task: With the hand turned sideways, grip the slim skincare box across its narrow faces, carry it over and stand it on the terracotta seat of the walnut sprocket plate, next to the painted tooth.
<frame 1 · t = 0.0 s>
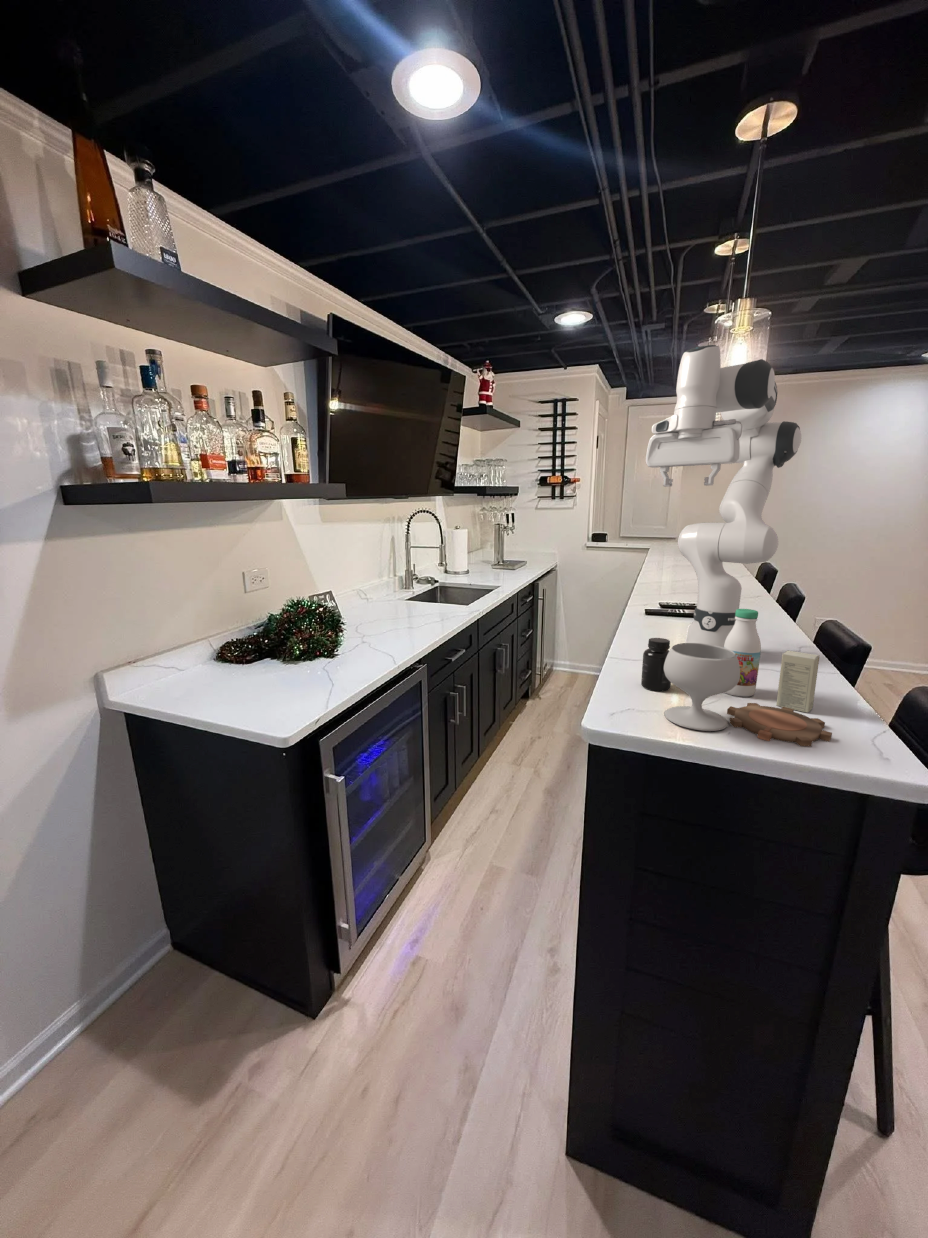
hand: (687, 485, 117), 48 cm above the table, tool pointing down, fingers open, 8 cm apart
supplement bottle: (655, 687, 122), on the table
milk bottle: (736, 692, 119), on the table
skincare box: (793, 707, 110), on the table
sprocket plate: (776, 725, 100), on the table
chalice: (695, 720, 103), on the table
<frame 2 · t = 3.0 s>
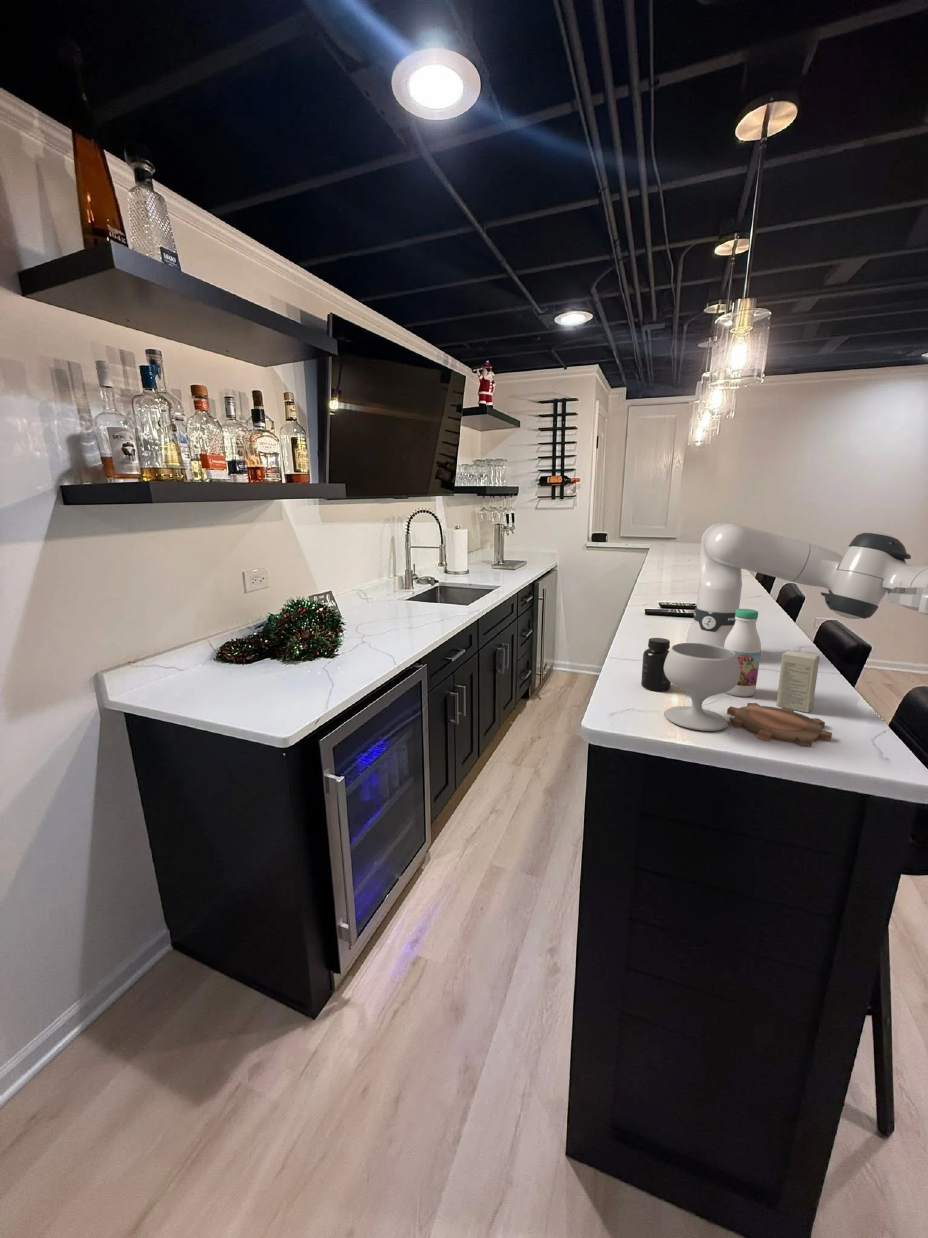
hand: (890, 594, 96), 27 cm above the table, tool horizontal, fingers open, 8 cm apart
nothing on the table moved.
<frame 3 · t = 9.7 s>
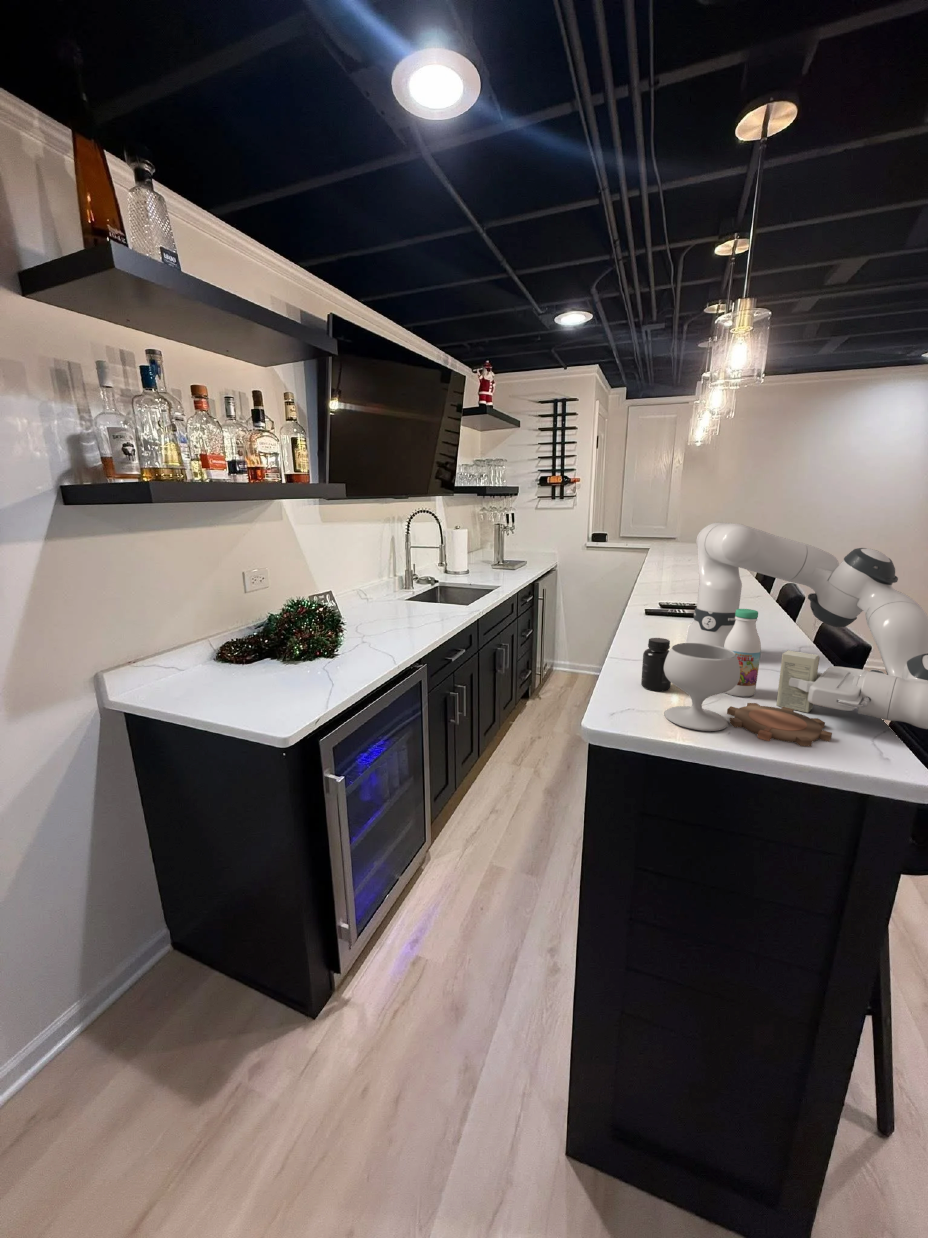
hand: (793, 677, 109), 7 cm above the table, tool horizontal, fingers closed on skincare box, 4 cm apart
skincare box: (793, 707, 110), on the table, touching gripper
everything else where it was.
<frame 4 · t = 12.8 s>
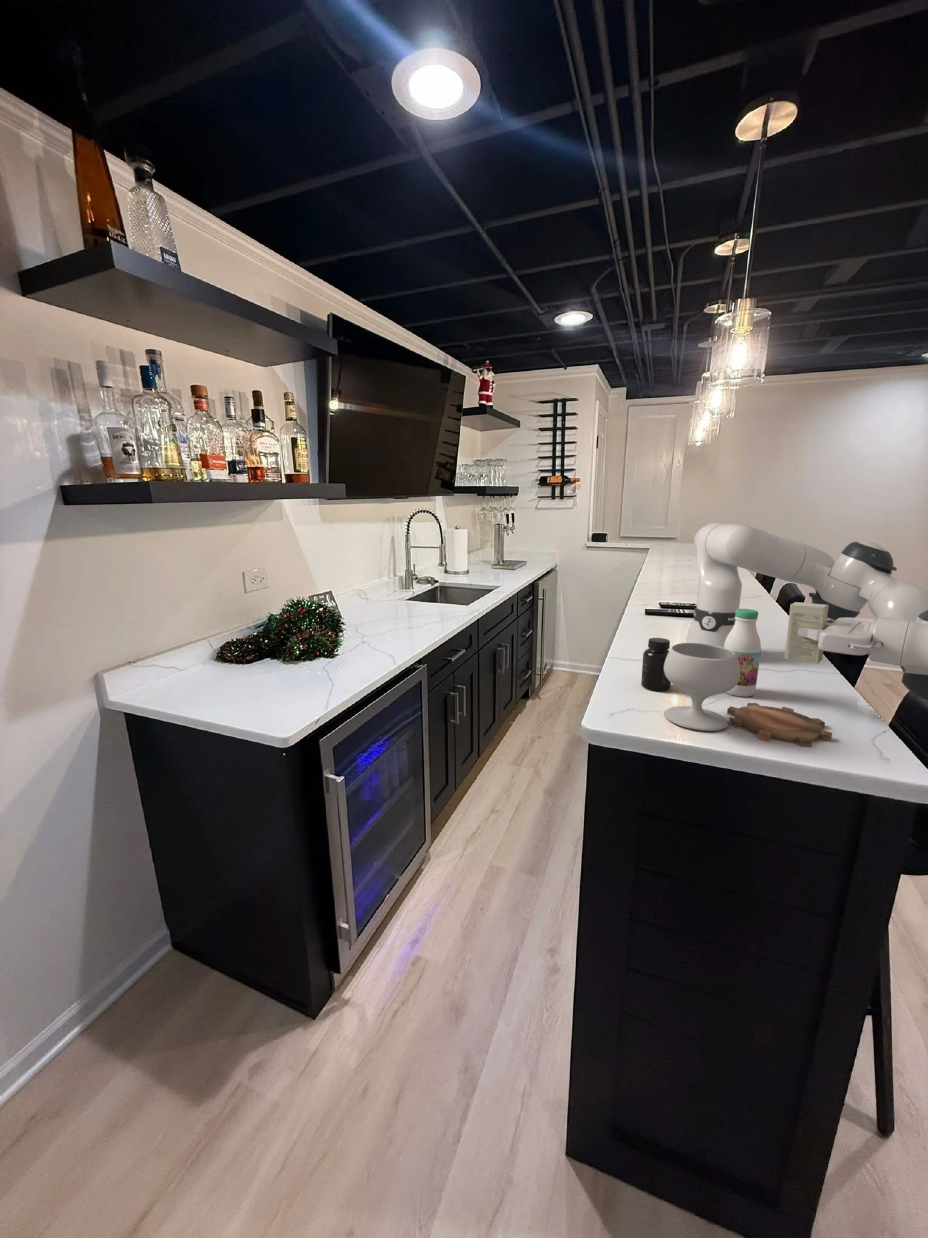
hand: (801, 628, 106), 18 cm above the table, tool horizontal, fingers closed on skincare box, 4 cm apart
skincare box: (802, 660, 107), point 11 cm above the table, touching gripper
everything else where it was.
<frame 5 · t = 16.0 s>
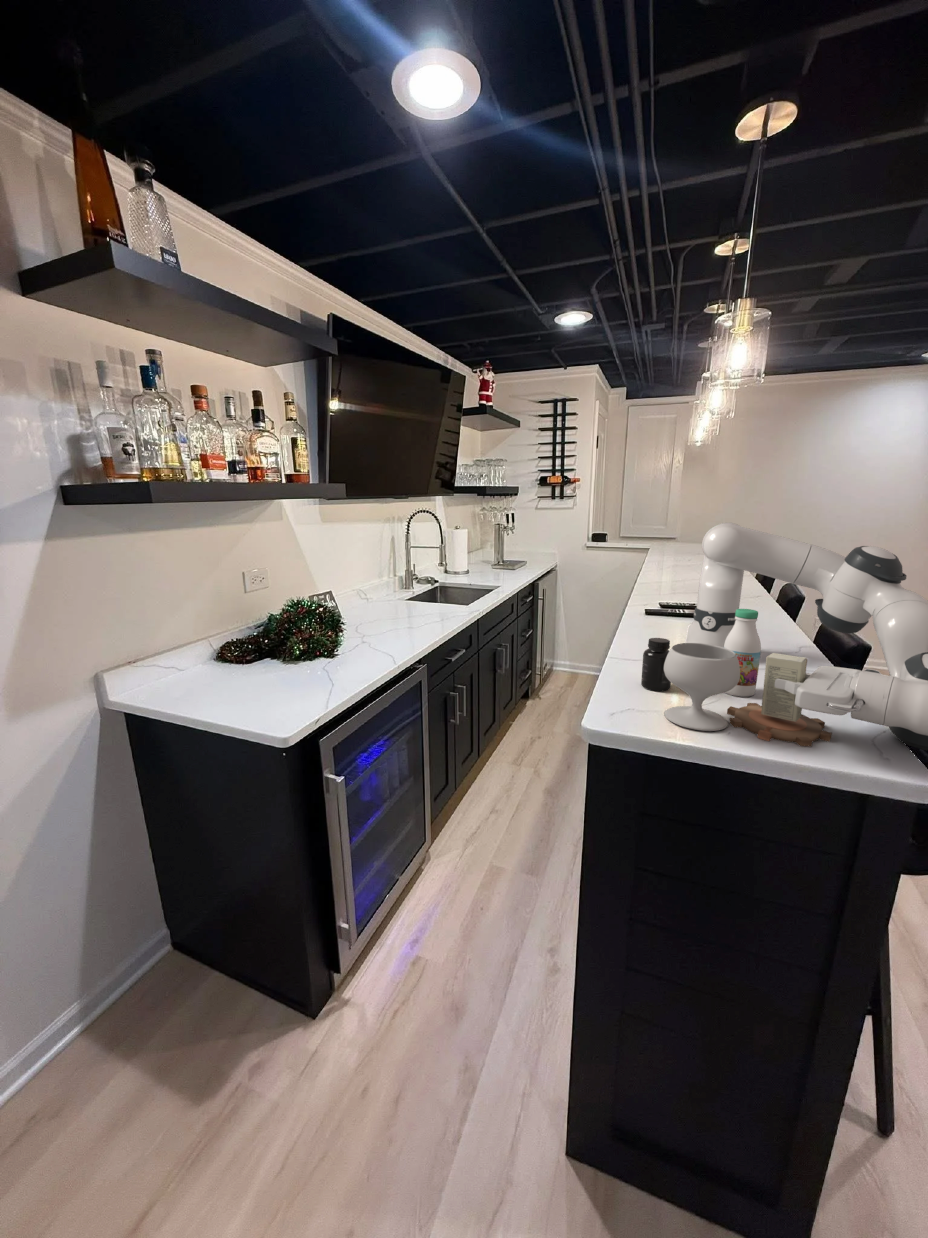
hand: (779, 678, 99), 10 cm above the table, tool horizontal, fingers closed on skincare box, 4 cm apart
skincare box: (779, 716, 100), point 2 cm above the table, touching gripper
everything else where it was.
when the fingers open (10 cm above the table, at t = 16.9 s): skincare box stays where it is, resting on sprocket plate.
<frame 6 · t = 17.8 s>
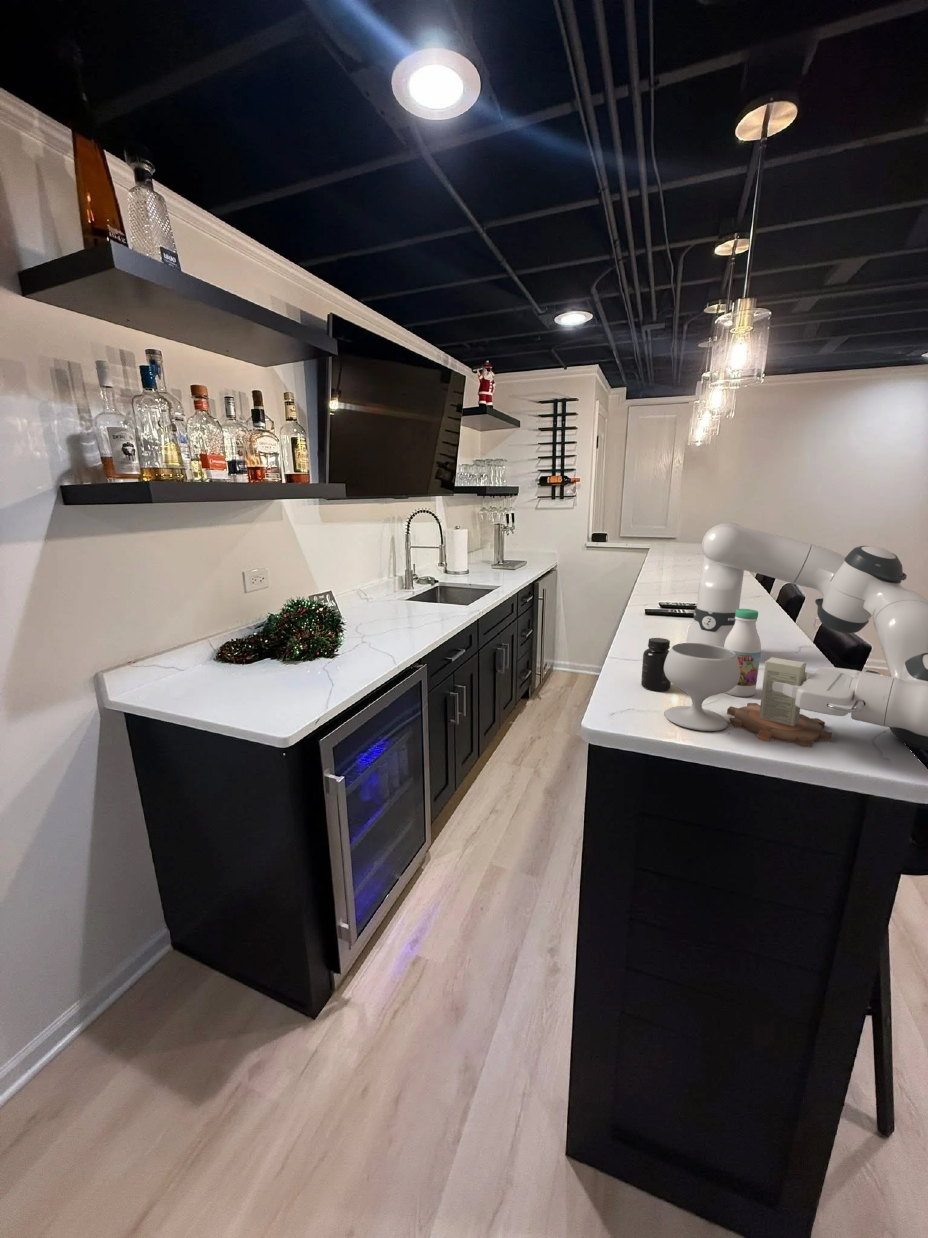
hand: (779, 679, 99), 10 cm above the table, tool horizontal, fingers open, 8 cm apart
skincare box: (777, 720, 100), point 1 cm above the table, touching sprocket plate
everything else where it was.
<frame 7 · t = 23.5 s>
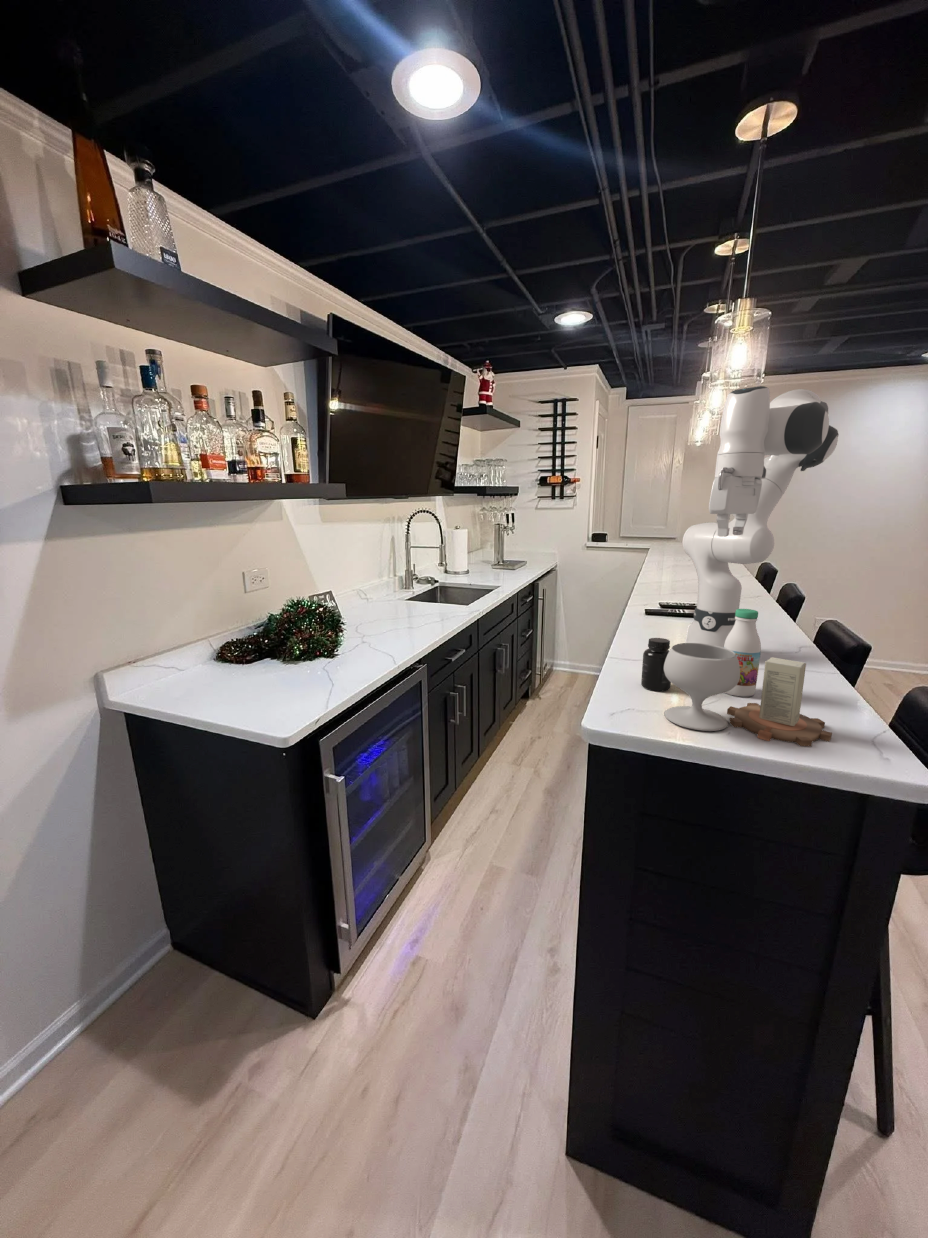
hand: (730, 535, 108), 37 cm above the table, tool pointing down, fingers open, 8 cm apart
nothing on the table moved.
at the end: skincare box 0.2 cm off-centre on the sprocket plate, point 1.2 cm above the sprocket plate's base; skincare box tilted 0°; the gripper is holding nothing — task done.
